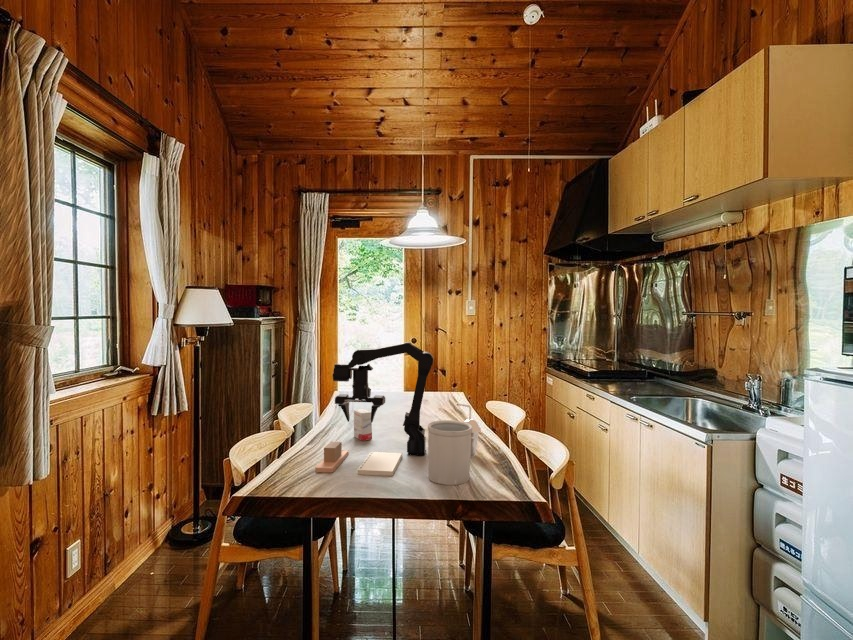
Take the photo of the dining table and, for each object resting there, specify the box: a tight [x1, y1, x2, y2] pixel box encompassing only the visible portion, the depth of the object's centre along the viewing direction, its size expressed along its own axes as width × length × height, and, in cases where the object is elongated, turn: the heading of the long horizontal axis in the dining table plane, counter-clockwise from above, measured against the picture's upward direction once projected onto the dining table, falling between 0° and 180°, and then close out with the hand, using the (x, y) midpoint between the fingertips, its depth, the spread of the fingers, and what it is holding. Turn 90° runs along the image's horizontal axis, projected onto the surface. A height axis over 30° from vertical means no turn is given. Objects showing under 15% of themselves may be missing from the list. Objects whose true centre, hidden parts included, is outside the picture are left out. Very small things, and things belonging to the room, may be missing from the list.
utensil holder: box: [427, 419, 472, 486], centre depth 155 cm, size 15×15×18 cm
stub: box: [314, 440, 350, 474], centre depth 169 cm, size 6×20×6 cm, turn 174°
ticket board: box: [357, 451, 403, 477], centre depth 167 cm, size 12×20×2 cm, turn 174°
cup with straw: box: [456, 403, 482, 458], centre depth 179 cm, size 8×9×20 cm
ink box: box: [353, 408, 373, 441], centre depth 201 cm, size 9×5×12 cm, turn 33°
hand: (360, 421), depth 181 cm, fingers open, 9 cm apart
